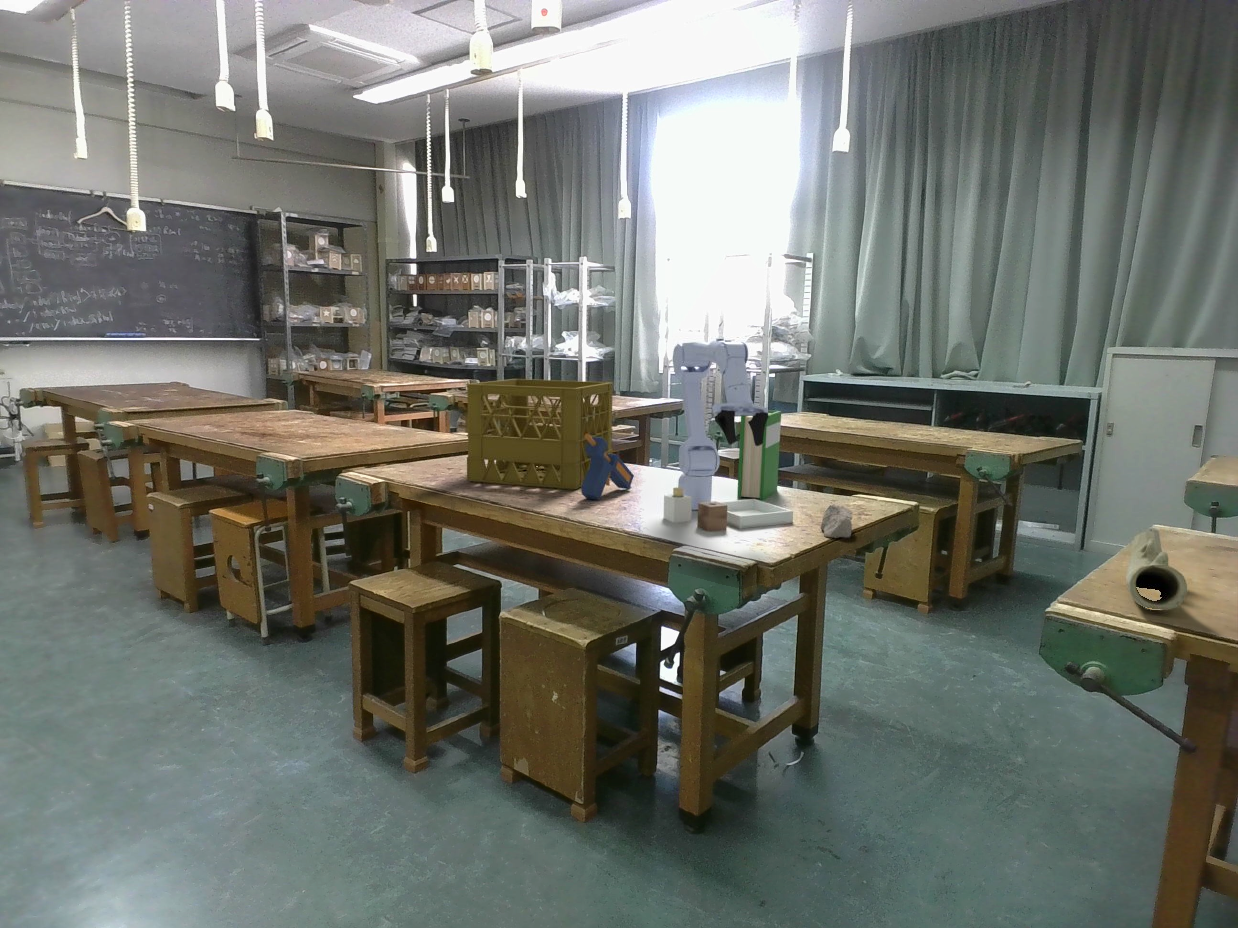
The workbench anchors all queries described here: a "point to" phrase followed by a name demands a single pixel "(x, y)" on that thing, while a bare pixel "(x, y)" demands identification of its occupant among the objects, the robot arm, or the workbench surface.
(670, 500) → the pale grey block
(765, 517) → the tray
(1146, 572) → the pipe
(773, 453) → the hardback book
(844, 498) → the workbench surface
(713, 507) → the walnut block
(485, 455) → the milk crate
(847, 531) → the concrete fragment
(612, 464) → the glue gun
